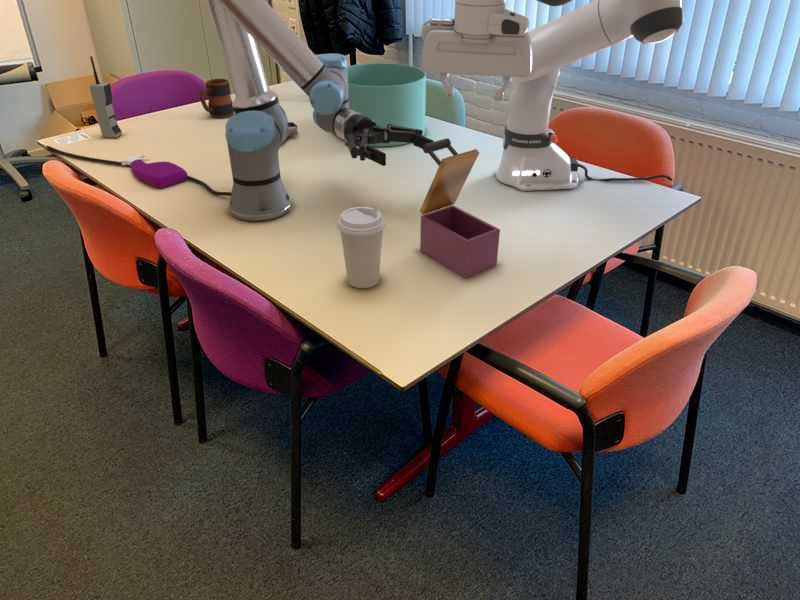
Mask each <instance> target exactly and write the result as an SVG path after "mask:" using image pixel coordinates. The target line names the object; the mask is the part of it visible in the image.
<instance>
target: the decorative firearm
mask: <svg viewBox="0 0 800 600" xmlns="http://www.w3.org/2000/svg"><path fill="white" fill-rule="evenodd" d="M293 135H295V136H296V135H299V131H298V126H297V124H295V122H292V121H290V122H289V121H288V131H287V134H286V137H285V138H284V140H283V142H282V144H283V143H284V142H285V141H286V140H287V138H288V137H290V136H293Z"/></svg>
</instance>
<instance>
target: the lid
mask: <svg viewBox="0 0 800 600" xmlns="http://www.w3.org/2000/svg"><path fill="white" fill-rule="evenodd" d="M444 149H447V150H448V151H449V152H450V153H451V156H447V157H444V158H442V159H441V160H440V157H438V156H437V155H436V153H435V152H437V151H440V150H444ZM422 151H423V153H424V154H428V155H429V156H430V157H431V158H432V159H433V161H434V162H435V164H437V166H438V168H437V170H436V172H435V175H434V177H433V179H432V182H431V184H430V186H429V188H428V190H427V193H426V195H425V198H424V200H423V203H422V204H421V207H420V209H419V213H420V214H421V216H422V215H425V214H428V213H431V212H434V211H437V210H440V209H443V208H446V207H449V206H452V205H453V206H454V205H455V204H456V201H457V200H458V197H459V195H460V193H461V191H462V189H463V187H464V186H465V183H466V181H467V179H468V177H469V175H470V173H471V171H472V169H473V167H474V165H475V163H476V160H477V159H478V157H479V155H480V151H478V149H476V148H475V149H472V150H469V151H468V150H467V151H465V152H461V153H458V152H457V150H456V149H455V148H454V147H453V146H452V141H451V139H450V138H449V137H447V138H443V139H439V140H435V141H434V142H431V143H428V144H424V145H423V149H422Z"/></svg>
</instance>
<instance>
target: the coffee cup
mask: <svg viewBox="0 0 800 600" xmlns="http://www.w3.org/2000/svg"><path fill="white" fill-rule="evenodd" d="M336 227H337V229H338V230H339V231H340V237H341V244H342V251H343V256H344V263H345V264H344V265H345V271H346V277H347V283H348V284H349V286H351V287H353V288H357V289H369V288H372V287H374V286H376V285H378V283H379V281H380V269H381V257H382V247H383V246H382V245H383V231H384V229H385V228H386V220H385V218H384V217H383V216H382V213H381V212H380V211H379V210H378V209H377V208H374V207H369V206H355V207H350V208H347V209H345V210H344V211H342V212H341V214H340V217H339V218H338V221H337V225H336Z"/></svg>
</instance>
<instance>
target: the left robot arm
mask: <svg viewBox="0 0 800 600" xmlns="http://www.w3.org/2000/svg"><path fill="white" fill-rule="evenodd" d="M206 5H207V7H208V8H207V9H208V11H209V14H210V17H211V21H212V23H213V27H214V30H215V34H216V37H217V41H218V43H219V46H220V50H221V53H222V57H223V59H224V63H225V66H226V70H227V72H228V76H229V79H230V82H231V86H232V89H233V92H234V95H235V98H234V99H233V100H232V102H233V103H232V106H233V110H234V113H233V115H232V116H230V117H228V119H227V120H226V122H225V127H224V128H225V133H224V134H225V140H226V145H227V151H228V156H229V165H230V169H231V170H230V171H231V176H232V187H231V191H216V190H214V189H212V188H211V186H209V185H208V183H206V182H205V181H202V180H200V179H198V178H195V177H192V176H189V175H187V178H186V180H189V181H190V182H191V181H192V182H194V183H197V184H199V185H201V186H202V187H204V189H206V190H207V191H208V192H209V193H211V194H213V195H215V196H229V197H230V200H229V212H230V215H231V216H232V217H233V218H235V219H238V220H241V221H245V222H252V223H253V222H267V221H273V220H276V219H278V218H281V217H283V216H285V215H286V214H288V213H289V212H290V211H291V208H292V203H291V194H288V192H287V190H286V187H285V184H284V183H283V180H282V177H281V169H280V160H279V150H280V148H281V146H282V144H283V143H284V142H283V140H284V138H285V137H286V134H287V131H288V122H289V120H288V119H289V118H288V115H287V113H286V110H285V109H284V108H283V107H282V105H281V103H280V101H279V97H278V94H277V92H275V91H274V90H272V89H271V88H270V87H269V83H268V80H267V79H268V78H267V76H266V72H265V69H264V65H263V62H262V58H261V54H260V50H259V47H260V48H261V49H263V51H265V53H266V54H267V55H268V56H269V57H270V58H271V59H272V60H273V61H274V62H275V63H276V64H277V65H278V66H279V67H280V68H281V69H282V70H283V72H285V73H286V74H287V76H288V77H290V79H291V80H292V81H293V82H294V83H295V84H296V85H297V86H298V87H299V88H300V90H302V91H303V92H304V93H305V94H306V96H307V97H308V100H309V103H310V106H311V108H313V111H312V119H313V122H314V124H315V125H316V126H317V127H318V128H320V129H321V130H322V131H323V132H325V133H329V134H331V135H333V136H336V137H337V138H339V139H341V138H342V139H344V140H345V141H344V140H343V141H344V146H346V147H347V148H348V151H349V154H350V156H351V158H352V159H357V158H358V157H359V160H360V161H362V162H364V161H366V159H367V160H370V161H372V162H374V163H376V164H378V165H380V166H382V167H385V166H386V165H387V154H386V153H385V152H383V151H382V150H379V149H378V148H375V147H374V146H369V145H370V144H376V143H377V144H378V143H390V142H404V143H407V144H413V146H415V147H417V148H419V149H420V150H423V145H424V144H428V143H431V142H435V141H434V140H433V139H431V138H428V137H426V136H424V135H423V130H419V129H413V128H407V127H400V126H395V125H392V124H387V128H384V127H380V126H377V125H376V124H375V122H374V121H373V120H372V119H371V118H369V117H367V116H365V115H362V114H360V113H358V112H356V111H353V110H351V109H349V97H348V68H347V67H348V60H347V57H346V56H345V55H344V54H341V53H322V54H323V55H320V56H318V57H317V56H316V55H317V54H315V53H314V52H313V51H312V50H311V49H310V48H309V46H307V45H306V44H305V42H304V40H302V39H301V38H300V37H299V36H298V34H297V33H296V32H295V31H294V30H293V29H292V28H291V27H290V26H289V25H288V24H287V22H285V20H284V19H283V18H282V17H281V16H280V15H279V14H278V13H277V11H276V10H274V9H273V7H272V6H271V5H270V4H269V2H268V1H266V0H206ZM258 45H259V46H258ZM385 134H387V139H385ZM342 139H341V140H342ZM282 142H283V143H282ZM45 148H46V149H47V150H50V151H52V152H54V153H57V154H60V155H63V156H66V157H70V158H75V159H78V160H79V159H80V160H82V161H83V160H84V161H90V162H95V163H102V164H108V165H109V164H110V165H116V166H122V167H123V166H124V167H130V165H128V164H127V165H122V163H121V161H117V160H109V159H103V158H102V159H101V158H95V157H90V156H84V155H79V154H75V153H70V152H66V151H63V150H60V149H58V148H55V147H53V146H51V145H46V147H45ZM130 168H131V167H130Z"/></svg>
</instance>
